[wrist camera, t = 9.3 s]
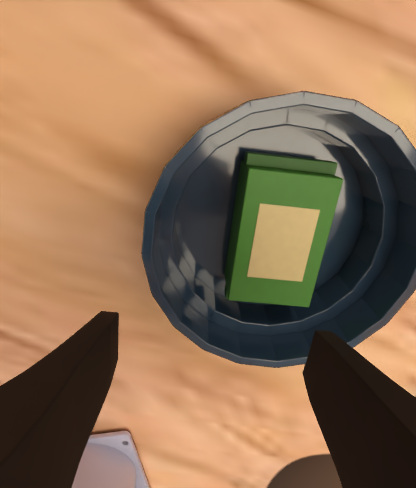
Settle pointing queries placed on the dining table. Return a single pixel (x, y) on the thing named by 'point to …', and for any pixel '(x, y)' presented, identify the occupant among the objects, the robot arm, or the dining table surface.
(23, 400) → the robot arm
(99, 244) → the dining table surface
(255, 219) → the green box
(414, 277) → the bowl
